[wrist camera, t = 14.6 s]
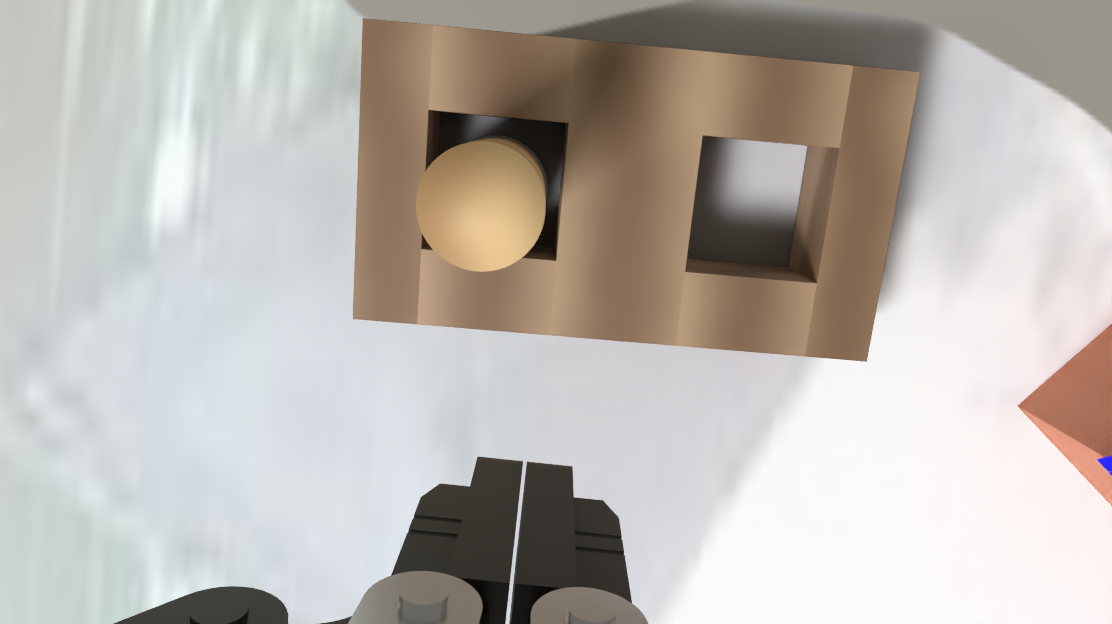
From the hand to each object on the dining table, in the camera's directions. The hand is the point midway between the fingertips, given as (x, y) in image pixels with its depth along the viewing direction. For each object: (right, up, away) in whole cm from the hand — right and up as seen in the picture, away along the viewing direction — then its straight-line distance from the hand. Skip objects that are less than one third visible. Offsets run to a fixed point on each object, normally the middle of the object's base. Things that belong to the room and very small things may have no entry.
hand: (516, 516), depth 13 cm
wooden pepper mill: (-2, +9, +24) cm, 25 cm away
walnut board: (+3, +9, +24) cm, 26 cm away
